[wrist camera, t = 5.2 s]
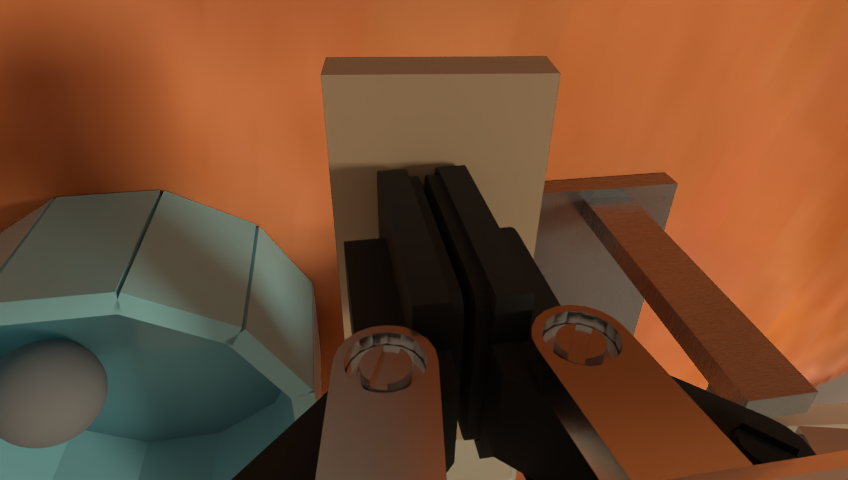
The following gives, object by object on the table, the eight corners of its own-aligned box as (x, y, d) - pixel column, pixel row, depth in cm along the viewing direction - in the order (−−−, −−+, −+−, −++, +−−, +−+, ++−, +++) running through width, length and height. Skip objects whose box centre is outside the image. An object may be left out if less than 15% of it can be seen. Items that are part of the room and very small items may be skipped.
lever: (1351, 36, 12) (1636, 88, 10) (926, 514, 23) (1003, 608, 20) (330, 39, 11) (313, 100, 8) (370, 542, 21) (367, 645, 19)
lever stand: (665, 172, 24) (892, 371, 15) (610, 370, 31) (743, 595, 21) (530, 182, 23) (680, 401, 14) (504, 384, 30) (594, 624, 21)
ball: (-68, 379, 19) (34, 307, 23) (-19, 452, 22) (68, 377, 25) (19, 411, 18) (114, 331, 22) (62, 485, 21) (142, 402, 24)
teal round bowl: (300, 180, 22) (298, 275, 17) (329, 416, 29) (333, 530, 24) (-102, 207, 20) (-239, 324, 15) (41, 453, 27) (-18, 584, 22)
